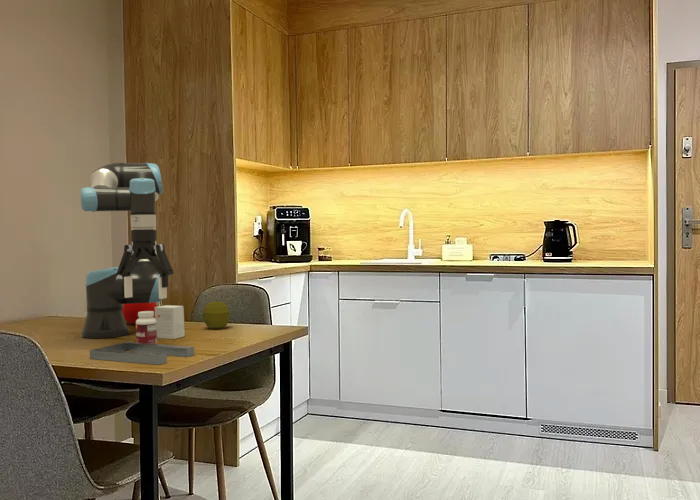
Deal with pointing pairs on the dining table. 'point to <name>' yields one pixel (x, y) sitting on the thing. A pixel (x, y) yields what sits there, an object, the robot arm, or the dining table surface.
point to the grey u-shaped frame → (141, 352)
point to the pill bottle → (146, 328)
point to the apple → (216, 315)
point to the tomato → (136, 310)
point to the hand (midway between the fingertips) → (145, 298)
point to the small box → (170, 321)
